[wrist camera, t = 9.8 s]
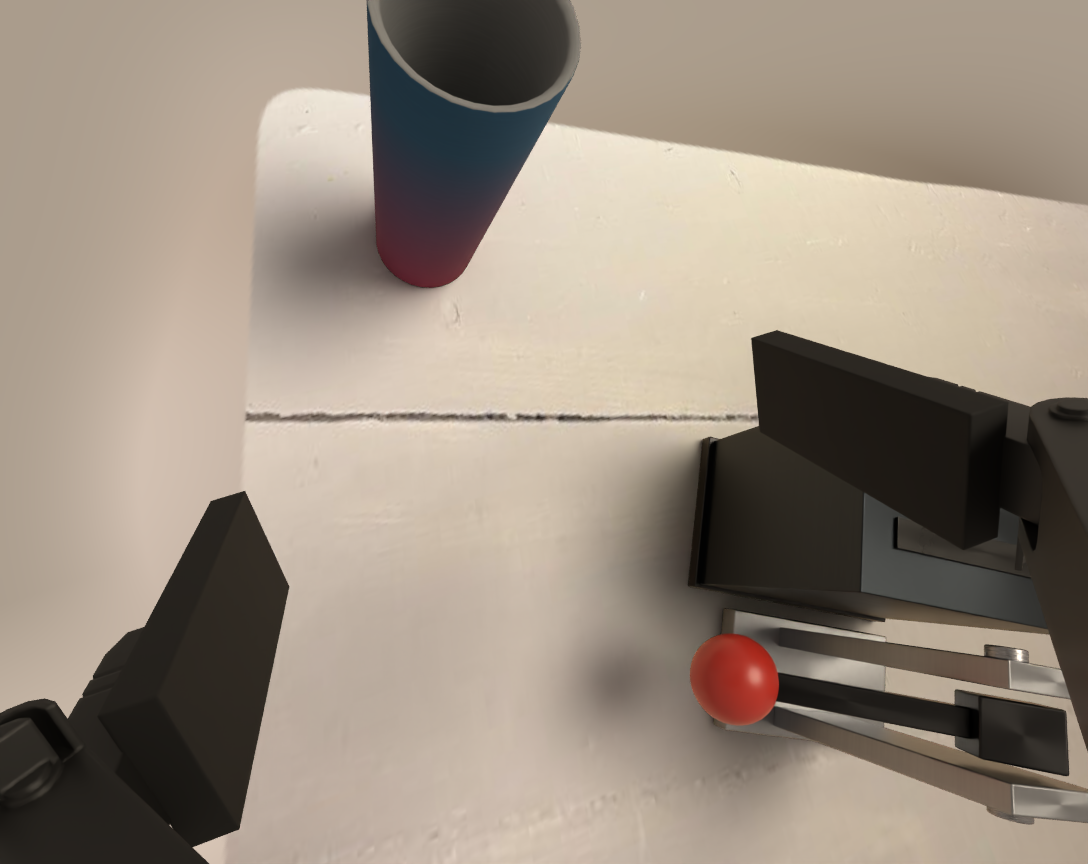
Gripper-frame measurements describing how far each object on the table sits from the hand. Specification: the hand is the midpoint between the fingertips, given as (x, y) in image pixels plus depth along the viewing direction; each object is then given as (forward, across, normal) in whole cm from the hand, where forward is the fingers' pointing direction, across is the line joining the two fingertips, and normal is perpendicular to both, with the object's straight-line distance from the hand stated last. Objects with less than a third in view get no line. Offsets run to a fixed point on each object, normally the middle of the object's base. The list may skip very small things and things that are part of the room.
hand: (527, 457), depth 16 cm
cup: (+22, 0, +4) cm, 22 cm away
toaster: (+14, +16, -16) cm, 26 cm away
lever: (+3, +11, -17) cm, 20 cm away
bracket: (+10, +13, -22) cm, 27 cm away
